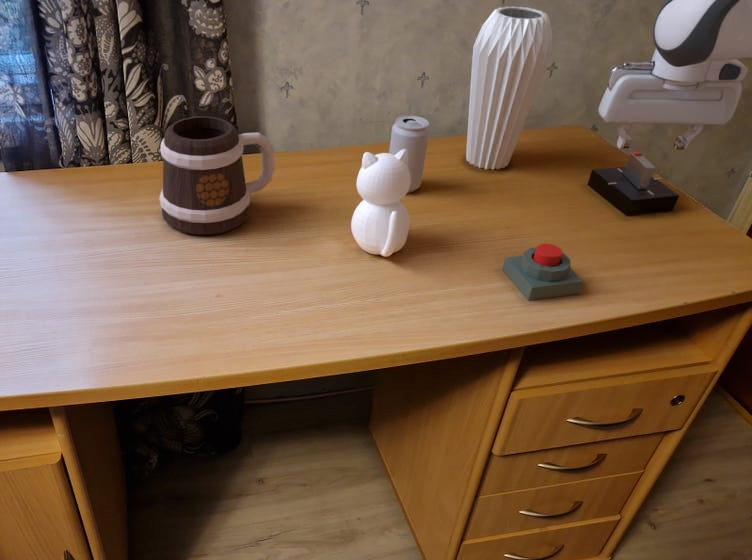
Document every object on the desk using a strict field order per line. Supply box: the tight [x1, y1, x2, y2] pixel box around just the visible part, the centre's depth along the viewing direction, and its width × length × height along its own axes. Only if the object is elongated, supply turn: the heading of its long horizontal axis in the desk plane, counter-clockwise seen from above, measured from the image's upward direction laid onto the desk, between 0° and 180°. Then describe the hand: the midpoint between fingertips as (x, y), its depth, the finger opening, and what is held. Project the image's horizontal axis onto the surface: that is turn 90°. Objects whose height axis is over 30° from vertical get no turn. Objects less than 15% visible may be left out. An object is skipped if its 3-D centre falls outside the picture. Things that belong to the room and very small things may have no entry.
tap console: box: [586, 165, 680, 217], centre depth 119 cm, size 12×10×3 cm
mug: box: [158, 115, 275, 236], centre depth 110 cm, size 20×15×15 cm
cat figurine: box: [350, 149, 411, 258], centre depth 102 cm, size 9×12×15 cm
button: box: [533, 243, 564, 267], centre depth 97 cm, size 4×4×2 cm
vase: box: [465, 6, 553, 171], centre depth 123 cm, size 13×13×26 cm
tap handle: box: [623, 151, 656, 189], centre depth 117 cm, size 6×2×4 cm, turn 2°
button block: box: [501, 246, 584, 301], centre depth 99 cm, size 8×8×4 cm
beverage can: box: [388, 115, 431, 194], centre depth 119 cm, size 6×6×12 cm
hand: (650, 147), depth 114 cm, fingers open, 8 cm apart
